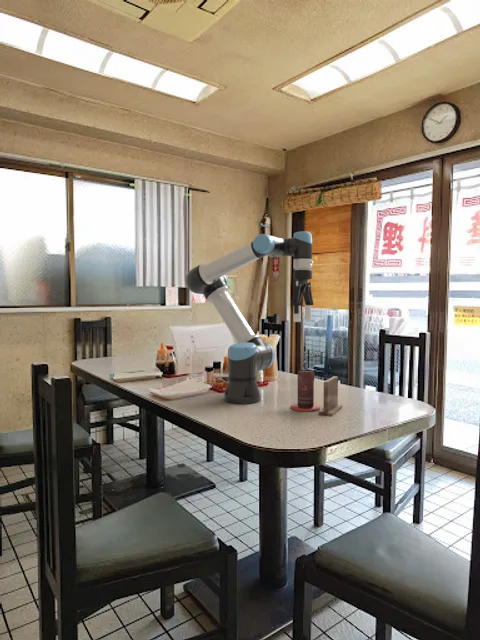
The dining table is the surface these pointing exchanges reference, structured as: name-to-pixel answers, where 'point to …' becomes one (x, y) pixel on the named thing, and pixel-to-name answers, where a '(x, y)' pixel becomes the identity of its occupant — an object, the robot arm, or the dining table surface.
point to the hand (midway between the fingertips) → (302, 321)
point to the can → (305, 389)
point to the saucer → (315, 408)
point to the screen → (330, 397)
